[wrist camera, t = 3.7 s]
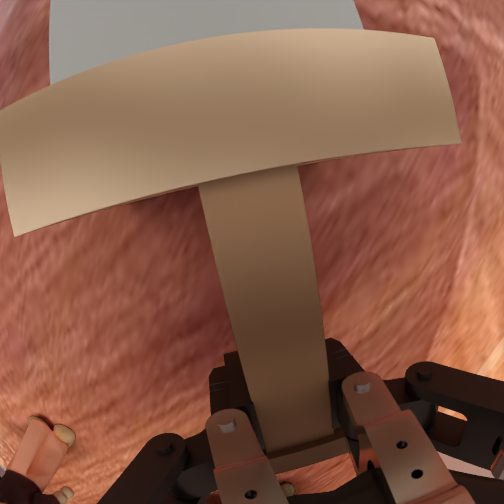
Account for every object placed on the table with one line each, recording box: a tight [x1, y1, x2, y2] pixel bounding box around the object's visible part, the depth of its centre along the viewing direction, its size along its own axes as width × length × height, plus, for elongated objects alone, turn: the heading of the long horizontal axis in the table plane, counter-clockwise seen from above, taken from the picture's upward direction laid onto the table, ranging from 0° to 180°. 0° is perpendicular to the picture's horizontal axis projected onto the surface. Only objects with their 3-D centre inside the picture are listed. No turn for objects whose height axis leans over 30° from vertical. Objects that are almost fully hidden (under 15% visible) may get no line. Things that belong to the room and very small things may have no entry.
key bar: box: [198, 164, 348, 474], centre depth 9 cm, size 12×3×2 cm, turn 12°
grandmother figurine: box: [0, 416, 75, 504], centre depth 13 cm, size 8×4×13 cm, turn 89°
